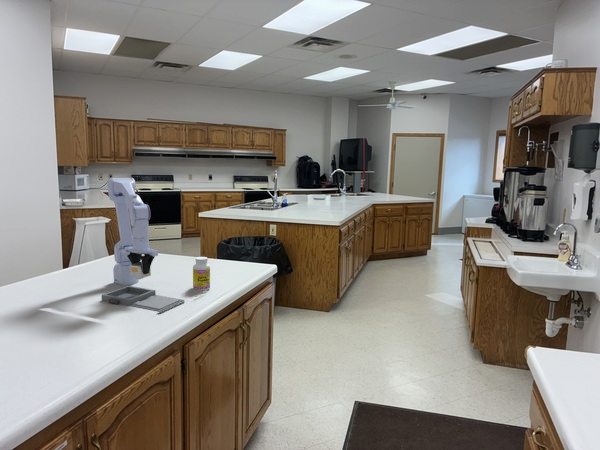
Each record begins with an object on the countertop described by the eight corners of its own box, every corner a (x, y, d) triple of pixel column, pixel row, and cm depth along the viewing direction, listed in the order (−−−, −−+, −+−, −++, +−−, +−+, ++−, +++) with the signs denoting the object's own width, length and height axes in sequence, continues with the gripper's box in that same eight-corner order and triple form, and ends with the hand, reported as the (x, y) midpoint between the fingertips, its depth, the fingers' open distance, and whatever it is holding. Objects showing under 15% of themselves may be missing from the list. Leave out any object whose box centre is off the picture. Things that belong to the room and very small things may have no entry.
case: (99, 303, 156) (98, 295, 156) (128, 293, 169) (128, 285, 169) (157, 315, 146) (157, 306, 146) (184, 303, 159) (184, 295, 158)
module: (130, 278, 163) (130, 264, 162) (142, 274, 169) (142, 260, 168) (139, 279, 162) (138, 265, 161) (150, 275, 167) (150, 261, 166)
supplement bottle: (195, 292, 172) (195, 260, 170) (191, 288, 178) (190, 257, 176) (212, 290, 175) (211, 259, 173) (207, 286, 181) (207, 255, 179)
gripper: (117, 237, 163) (119, 272, 165) (147, 241, 157) (148, 277, 159) (131, 234, 169) (133, 268, 171) (161, 237, 163) (162, 273, 165)
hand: (141, 272), depth 165 cm, fingers closed on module, 4 cm apart
